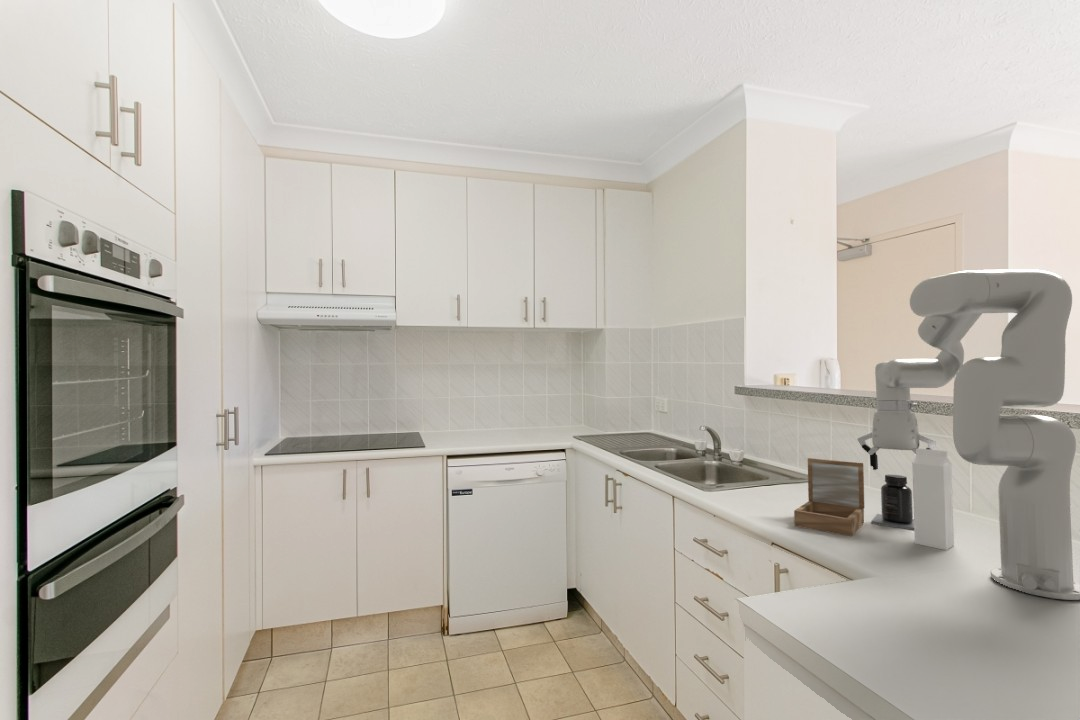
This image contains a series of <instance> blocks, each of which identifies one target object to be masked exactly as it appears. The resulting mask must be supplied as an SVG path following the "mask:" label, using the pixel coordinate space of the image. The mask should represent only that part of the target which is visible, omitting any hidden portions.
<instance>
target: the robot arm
mask: <svg viewBox="0 0 1080 720" xmlns="http://www.w3.org/2000/svg"><path fill="white" fill-rule="evenodd" d="M909 306H910V309H911V311H912V313H914V314H915V315H916V316H919V317H923V318H924V319H923V320H922V322H921V323H920V324H919V326H918V327H917V333H918V336H919V338H920V339H921V340H922V341H923V342H924V343H926V344H927V345H929V346H931V347H933V348H935V349H937V350H940V352H939V353H938V355H937V356H935V357H934V358H901V359H899V358H898V359H892V360H890V361H884V362H878V363H877V364H876V366H875V367H874V368H875V369H874V370H875V371H874V374H875V377H874V378H875V390H876V391H875V395H876V396H875V397H876V411H874V413H873V417H872V418H873V420H872V430H871V431H872V432H870V433H867V434H865V435H862V436H860V437H858V438H857V442H858V443H859V444H860V446H861V448H862V449H863V450H864V451H865V452H866V453H868V455H869V463H870V464H869V465H870V467H872V470H874V471H876V470H879V464H878V461H879V460H878V455H877V452H878V451H879V450H881V449H883V450H896V451H897V450H901V451H912V452H913V453H914V454H915V455H916V449H920V441H921V442H923V443H925V444H927V446H926V448H925V449H930V450H934V448H935V447H936V445H937V442H936V440H933V439H931V438H929V437H926V436H924V435H922V434H919V425H918V420H917V417H916V414H915V413H916V412H912V410H913V409H918V403H917V402H915V403H914V402H912V401H911V392H910V391H911V389H938V388H942V387H944V386H946V385H947V384H949V383H950V382H951V381H952V380H953V379H954V381H953V382H954V383H953V396H952V397H953V407H952V410H953V411H952V414H953V415H952V432H953V433H952V438H953V444H954V446H955V447H954V448H955V449H956V452H957V453H958V455H959V456H960V457H961V458H962V459H963V460H964V461H965V462H968V463H969V464H973V465H977V466H978V465H979V466H996V467H997V466H999V467H1000V466H1005V467H1006V466H1007V467H1006V469H1005V471H1004V472H1003V474H1002V476H1001V477H1000V481H999V482H998V490H997V491H998V522H999V544H1000V547H999V548H1000V567H996V568H993V569H991V570H990V577H992V578H993V579H995V580H996V581H998V582H1000V583H1001V584H1003V585H1002V586H1004V585H1006V586H1008V587H1007V588H1009V587H1010V588H1009V589H1011V588H1013V589H1012V590H1014V589H1016V590H1015V591H1017V590H1019V591H1018V592H1021V591H1022V592H1021V593H1024V592H1025V594H1029V595H1033V596H1038V597H1042V598H1048V599H1054V600H1063V601H1079V600H1080V583H1078V582H1076V581H1074V564H1073V544H1072V543H1073V541H1072V539H1073V538H1072V518H1071V517H1072V516H1071V515H1072V513H1071V474H1072V468H1073V464H1074V459H1075V455H1076V449H1077V442H1076V441H1077V440H1076V435H1075V433H1074V432H1073V430H1072V429H1071V428H1070V426H1068V425H1067V424H1066V423H1064V422H1063V421H1061V420H1059V419H1057V418H1054V417H1051V416H1048V415H1047V416H1046V415H1039V414H1001V410H1002V409H1007V408H1008V409H1010V408H1011V409H1013V408H1015V409H1024V408H1025V409H1027V408H1028V409H1029V408H1030V409H1033V408H1038V409H1039V408H1046V407H1051V406H1055V405H1056V404H1058V403H1059V401H1061V400H1062V398H1063V396H1064V392H1065V391H1064V390H1065V384H1066V383H1065V381H1066V380H1065V379H1066V377H1065V376H1066V375H1065V374H1066V335H1067V334H1066V332H1067V328H1068V322H1069V319H1070V314H1071V310H1072V306H1073V294H1072V290H1071V287H1070V285H1069V284H1068V282H1067V281H1066V280H1065V279H1064V278H1063V277H1061V276H1060V275H1058V274H1056V273H1054V272H1050V271H1046V270H1041V269H1040V270H1039V269H1028V268H1027V269H1023V268H1022V269H1020V268H1019V269H1018V268H1017V269H1016V268H1015V269H1013V268H1012V269H1009V268H1008V269H983V270H980V269H978V270H976V269H975V270H962V271H955V272H952V273H947V274H943V275H938V276H933V277H930V278H929V277H928V278H926V279H924V280H922V281H920V282H919V283H918V284H917V285H916V286H915V287H914V289H913V290H912V292H911V294H910V297H909ZM1005 313H1006V314H1012V313H1013V314H1015V316H1013V317H1012V318H1011V320H1009V322H1008V324H1007V325H1006V326H1005V328H1004V329H1003V332H1002V335H1001V351H1000V356H995V357H994V356H993V357H992V356H987V357H986V356H985V357H976V358H972V359H970V360H967V361H966V362H965V363H964V359H965V351H964V346H963V344H962V343H961V341H962V340H963V338H965V336H966V334H967V333H968V332H969V331H970V330H971V328H972V327H973V326H974V325H975V324H976V322H977V321H978V320H979V319H980V318H981V316H982V315H983V314H1005ZM871 438H872V441H871V442H872V447H870V446H869V445H868V444H867V443H866V441H867V440H870V439H871ZM992 578H991V579H992ZM993 579H992V580H993ZM996 581H995V582H996ZM1001 584H1000V585H1001ZM1006 586H1005V587H1006Z"/></svg>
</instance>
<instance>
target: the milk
mask: <svg viewBox="0 0 1080 720" xmlns="http://www.w3.org/2000/svg"><path fill="white" fill-rule="evenodd" d="M911 464H912V466H911V467H912V502H913V519H914V530H913V531H914V533H913V534H914V544H916V545H921V546H924V547H929V548H934V549H940V550H943V551H947V550H949V549H950V548H952V547H954V546H955V535H954V533H955V532H954V531H955V529H954V507H953V506H954V505H953V503H954V501H953V481H952V480H953V477H952V476H953V475H952V470H953V469H952V462H951V461H950V460H949V458H948V451H946V450H941V449H940V450H939V449H933V450H930V449H926V448H919V449H916V454H915V456H914V459H913V461H912V463H911Z"/></svg>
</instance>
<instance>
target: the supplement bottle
mask: <svg viewBox="0 0 1080 720" xmlns="http://www.w3.org/2000/svg"><path fill="white" fill-rule="evenodd" d="M907 479H908V478H907V476H905V475H899V474H885V475H884V482H885V484H883V485H881V487H880V499H881V501H880V502H881V514H882V518H883V519H884V520H886V521H889V522H894V523H901V524H909V523H912V521H913V519H914V510H913V490H912V489H911V488H910V487H909V486H907V484H908V481H907Z"/></svg>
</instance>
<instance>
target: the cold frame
mask: <svg viewBox="0 0 1080 720" xmlns="http://www.w3.org/2000/svg"><path fill="white" fill-rule="evenodd" d="M864 480H865V479H864V463H863V462H853V461H845V460H833V459H825V458H824V459H822V458H811V457H808V458H807V487H808V488H807V489H808V498H807V499H808V501H807V502H805V503H803V504H802V505H800V506H799V507H797V508H796V509H795V510H794V511H793V513H794V517H793V519H794V520H793V521H794V527H798V528H802V529H803V528H804V529H808V530H809V529H810V530H814V531H821V532H826V533H831V534H837V535H842V536H843V535H844V536H847V537H853V536H854V535H855V534H856V533H857V531H858V530H859V529H861V528H862V526H863V525H864V524H863V523H865V511H864V509H865V483H864V482H865V481H864Z"/></svg>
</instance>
